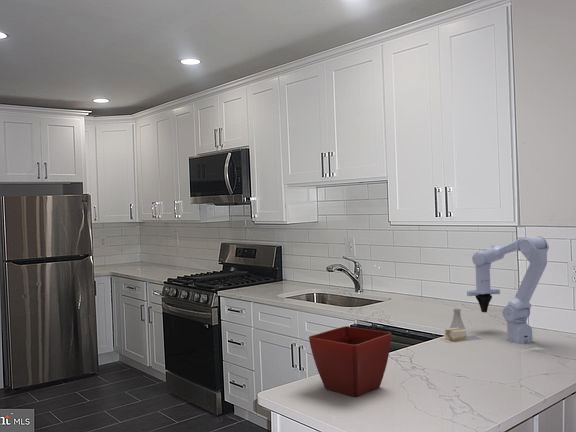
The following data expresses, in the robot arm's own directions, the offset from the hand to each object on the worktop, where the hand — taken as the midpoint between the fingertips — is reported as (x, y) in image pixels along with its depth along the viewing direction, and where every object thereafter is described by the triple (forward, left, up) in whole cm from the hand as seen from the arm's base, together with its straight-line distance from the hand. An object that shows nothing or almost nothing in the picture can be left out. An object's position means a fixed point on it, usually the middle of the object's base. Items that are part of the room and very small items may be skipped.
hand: (484, 312), depth 229 cm
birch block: (-6, +17, -9) cm, 20 cm away
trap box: (-6, +13, -10) cm, 18 cm away
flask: (+12, +6, -11) cm, 17 cm away
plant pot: (-46, +75, -11) cm, 89 cm away
